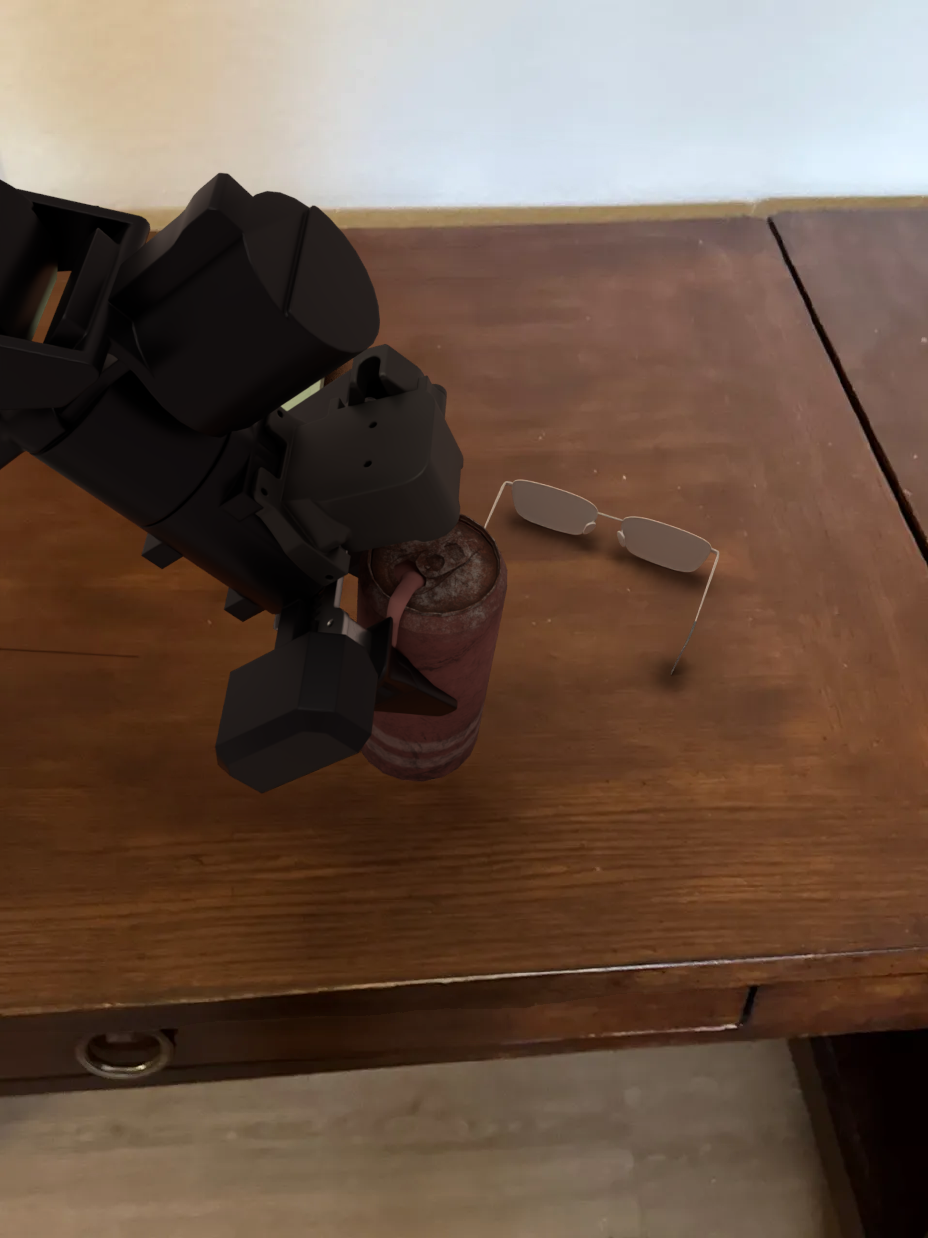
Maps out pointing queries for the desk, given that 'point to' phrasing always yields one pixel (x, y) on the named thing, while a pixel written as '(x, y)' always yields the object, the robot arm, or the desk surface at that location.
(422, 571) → the can
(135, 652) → the desk surface
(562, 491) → the eyeglasses
